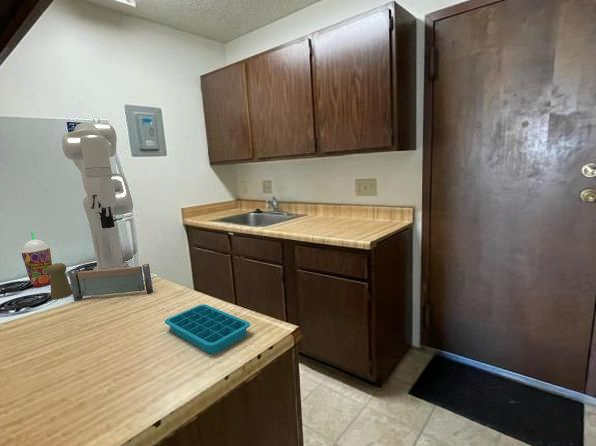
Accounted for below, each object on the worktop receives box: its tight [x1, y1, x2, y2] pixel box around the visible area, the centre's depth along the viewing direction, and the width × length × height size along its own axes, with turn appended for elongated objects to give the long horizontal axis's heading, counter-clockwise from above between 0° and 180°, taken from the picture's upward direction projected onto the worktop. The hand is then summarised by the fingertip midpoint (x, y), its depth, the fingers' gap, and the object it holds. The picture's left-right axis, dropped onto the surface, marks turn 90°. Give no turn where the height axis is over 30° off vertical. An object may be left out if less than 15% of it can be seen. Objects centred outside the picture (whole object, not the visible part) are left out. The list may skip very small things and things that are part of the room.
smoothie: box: [20, 231, 53, 288], centre depth 117 cm, size 8×8×20 cm
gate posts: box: [68, 263, 154, 302], centre depth 102 cm, size 2×24×10 cm, turn 96°
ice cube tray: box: [164, 303, 251, 355], centre depth 76 cm, size 12×20×3 cm, turn 50°
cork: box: [47, 262, 73, 300], centre depth 105 cm, size 6×6×11 cm
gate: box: [77, 265, 146, 298], centre depth 102 cm, size 19×2×8 cm, turn 96°
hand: (108, 227), depth 109 cm, fingers closed
